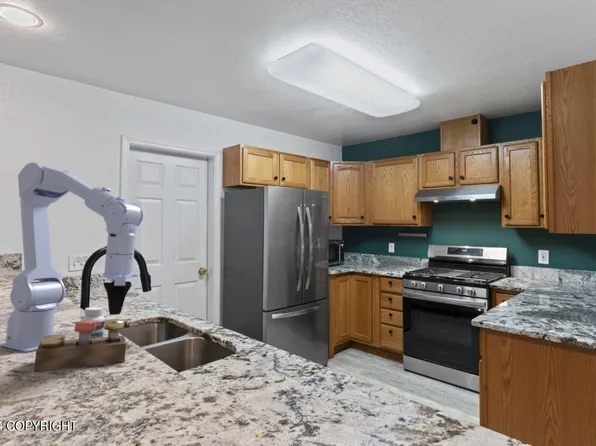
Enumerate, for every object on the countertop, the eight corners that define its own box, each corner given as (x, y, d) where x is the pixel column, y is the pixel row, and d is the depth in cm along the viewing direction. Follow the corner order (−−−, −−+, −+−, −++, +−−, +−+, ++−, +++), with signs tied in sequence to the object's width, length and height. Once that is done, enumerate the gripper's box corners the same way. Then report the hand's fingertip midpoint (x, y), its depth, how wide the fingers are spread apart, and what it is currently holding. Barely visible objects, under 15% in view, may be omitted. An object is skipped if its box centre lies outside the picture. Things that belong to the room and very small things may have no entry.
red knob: (72, 351, 72) (74, 325, 72) (73, 345, 75) (75, 321, 75) (94, 349, 74) (96, 323, 74) (94, 344, 77) (96, 319, 78)
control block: (33, 372, 67) (36, 351, 67) (38, 361, 73) (40, 342, 73) (124, 362, 75) (126, 343, 76) (122, 352, 81) (123, 335, 82)
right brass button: (102, 348, 74) (104, 323, 75) (102, 343, 78) (104, 319, 78) (122, 346, 77) (125, 322, 77) (121, 341, 80) (123, 318, 80)
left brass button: (37, 367, 69) (40, 340, 69) (40, 361, 72) (43, 335, 72) (61, 365, 71) (64, 338, 71) (63, 359, 74) (66, 333, 75)
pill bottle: (91, 347, 84) (94, 311, 85) (73, 345, 85) (76, 309, 86) (107, 342, 89) (110, 307, 90) (90, 339, 90) (93, 305, 91)
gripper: (143, 256, 74) (137, 319, 73) (136, 253, 87) (131, 307, 86) (106, 255, 71) (99, 321, 70) (104, 252, 83) (98, 308, 82)
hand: (114, 314), depth 78 cm, fingers closed
